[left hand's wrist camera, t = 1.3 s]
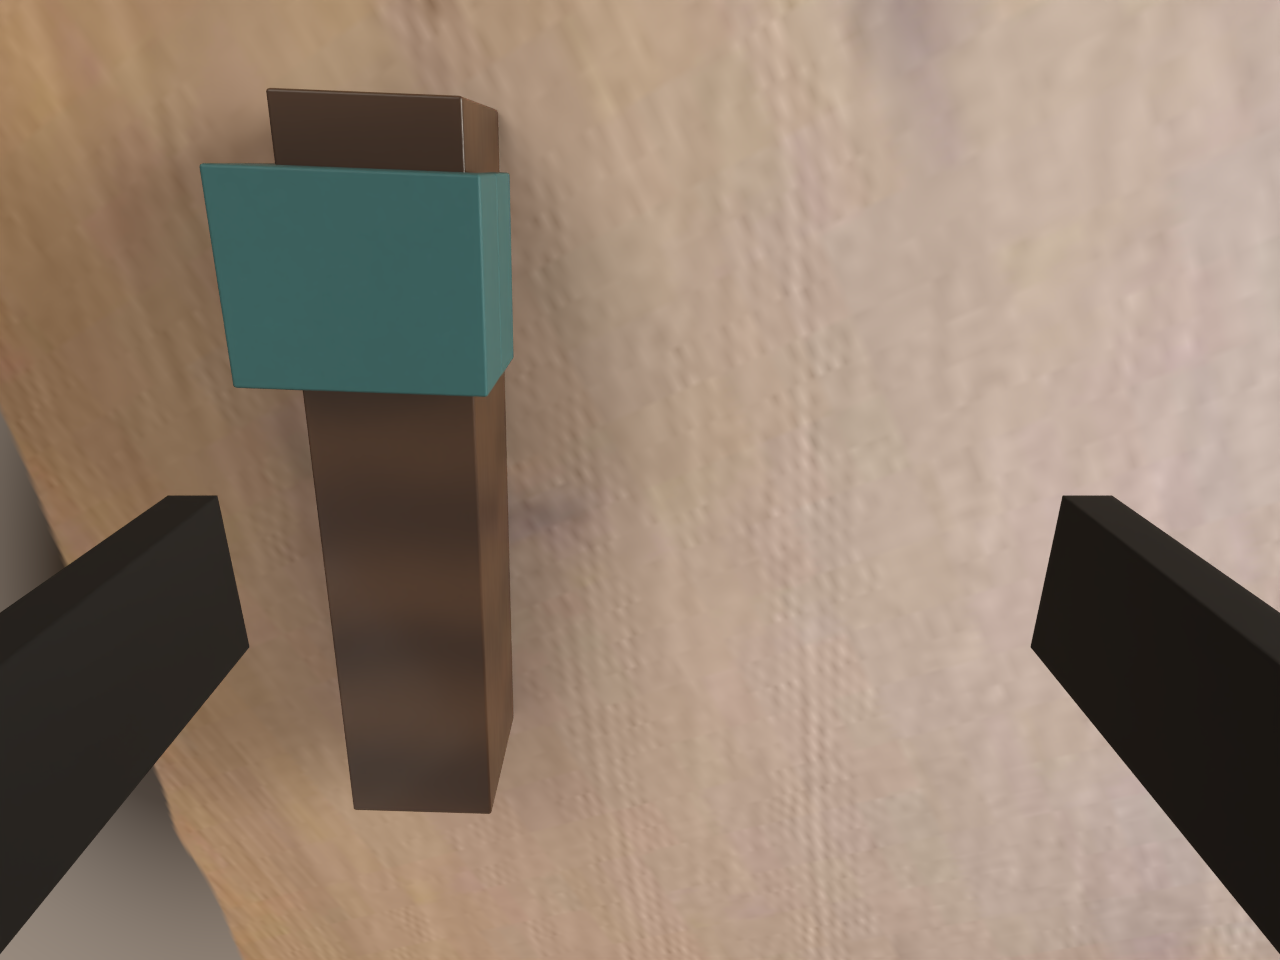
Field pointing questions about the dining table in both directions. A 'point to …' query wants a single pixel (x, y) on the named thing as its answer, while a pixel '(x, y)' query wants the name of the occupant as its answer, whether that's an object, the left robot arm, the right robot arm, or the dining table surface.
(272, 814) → the dining table surface
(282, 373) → the teal u-shaped block
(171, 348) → the dining table surface
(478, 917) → the dining table surface
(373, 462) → the bar
